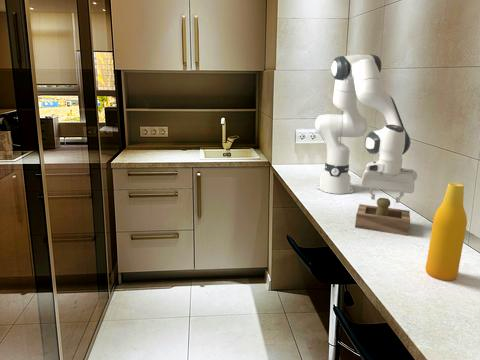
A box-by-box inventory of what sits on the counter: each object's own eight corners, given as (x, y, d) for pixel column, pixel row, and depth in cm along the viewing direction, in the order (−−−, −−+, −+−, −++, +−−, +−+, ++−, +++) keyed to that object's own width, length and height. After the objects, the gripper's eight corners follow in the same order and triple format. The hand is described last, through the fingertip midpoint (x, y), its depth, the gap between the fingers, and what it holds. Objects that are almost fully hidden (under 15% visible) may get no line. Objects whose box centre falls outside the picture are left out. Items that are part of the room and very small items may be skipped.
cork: (377, 220, 184) (380, 195, 181) (391, 225, 180) (394, 199, 177) (370, 224, 180) (373, 198, 177) (383, 228, 176) (387, 201, 173)
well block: (358, 216, 190) (359, 204, 188) (407, 223, 183) (409, 210, 182) (354, 227, 176) (356, 214, 174) (408, 235, 170) (410, 222, 168)
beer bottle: (454, 284, 132) (471, 190, 125) (422, 275, 137) (436, 184, 129) (459, 273, 139) (475, 184, 132) (428, 265, 144) (442, 178, 137)
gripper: (417, 168, 173) (412, 202, 177) (363, 162, 180) (359, 195, 183) (418, 171, 168) (413, 206, 171) (362, 165, 174) (358, 199, 177)
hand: (385, 200), depth 177 cm, fingers open, 8 cm apart
